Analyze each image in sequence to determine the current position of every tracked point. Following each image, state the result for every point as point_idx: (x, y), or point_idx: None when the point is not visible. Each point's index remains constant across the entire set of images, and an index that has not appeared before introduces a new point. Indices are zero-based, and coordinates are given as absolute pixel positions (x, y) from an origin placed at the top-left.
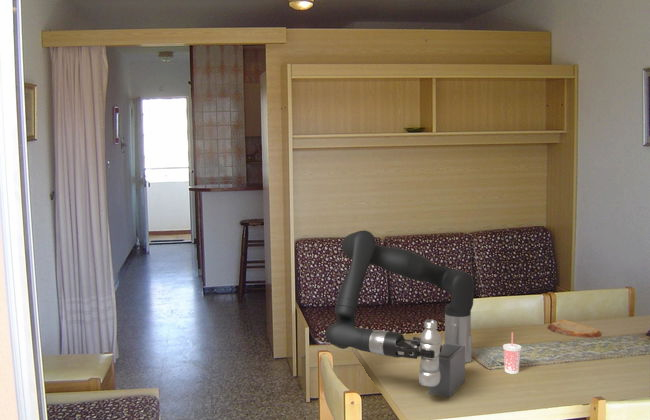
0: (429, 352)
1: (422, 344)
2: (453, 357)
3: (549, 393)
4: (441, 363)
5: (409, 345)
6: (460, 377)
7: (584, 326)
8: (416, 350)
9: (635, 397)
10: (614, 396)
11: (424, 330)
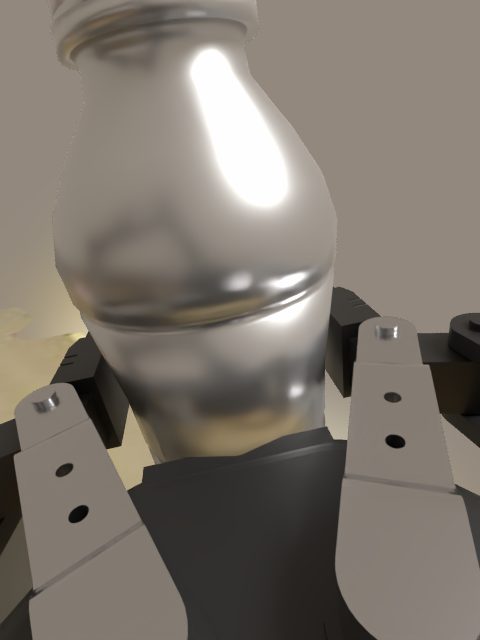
0: (345, 294)
1: (332, 282)
2: None
3: (7, 384)
4: (26, 543)
5: (442, 461)
6: None
7: None
8: (474, 319)
9: (15, 311)
10: (13, 324)
11: (233, 89)
